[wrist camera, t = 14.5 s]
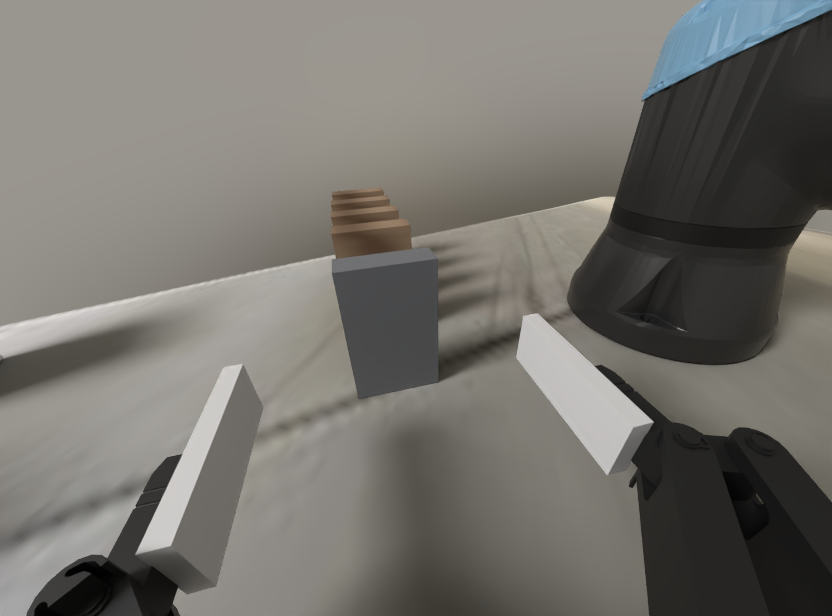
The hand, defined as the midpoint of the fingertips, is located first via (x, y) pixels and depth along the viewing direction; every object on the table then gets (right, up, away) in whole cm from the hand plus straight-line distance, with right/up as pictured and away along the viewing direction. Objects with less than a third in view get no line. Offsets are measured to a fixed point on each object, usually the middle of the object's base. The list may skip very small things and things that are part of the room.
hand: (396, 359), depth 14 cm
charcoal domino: (0, -3, +9) cm, 9 cm away
